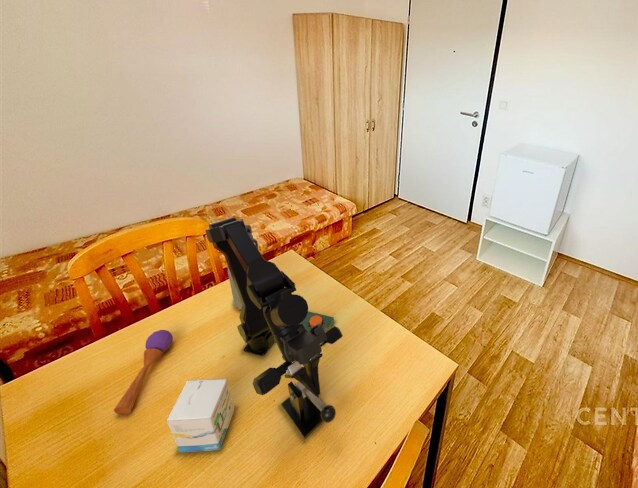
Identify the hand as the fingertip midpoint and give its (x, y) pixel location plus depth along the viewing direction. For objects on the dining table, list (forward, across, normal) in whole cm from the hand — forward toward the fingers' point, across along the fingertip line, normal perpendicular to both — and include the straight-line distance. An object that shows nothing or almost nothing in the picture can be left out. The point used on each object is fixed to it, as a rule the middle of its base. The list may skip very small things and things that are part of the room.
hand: (318, 395), depth 66 cm
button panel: (-8, +15, +27) cm, 32 cm away
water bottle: (-25, +6, +44) cm, 51 cm away
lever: (+3, 0, +4) cm, 5 cm away
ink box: (-3, -17, +23) cm, 29 cm away
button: (-9, +14, +23) cm, 29 cm away
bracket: (+5, 0, +14) cm, 15 cm away
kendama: (-20, -23, +40) cm, 50 cm away
